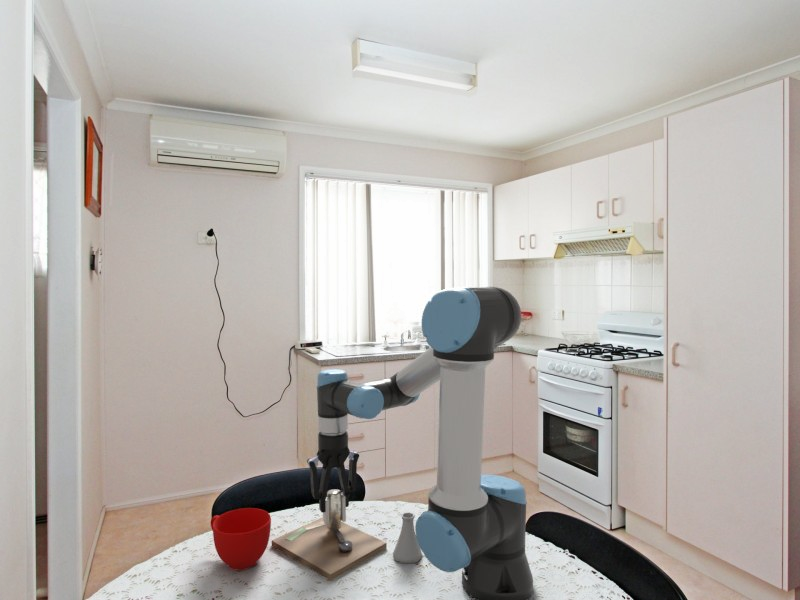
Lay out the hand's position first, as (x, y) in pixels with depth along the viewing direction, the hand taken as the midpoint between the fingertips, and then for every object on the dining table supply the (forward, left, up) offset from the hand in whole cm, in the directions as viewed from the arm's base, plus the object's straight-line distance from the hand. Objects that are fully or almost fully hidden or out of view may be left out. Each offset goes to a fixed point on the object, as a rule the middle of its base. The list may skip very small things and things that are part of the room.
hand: (334, 521), depth 133 cm
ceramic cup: (+9, +22, -4) cm, 25 cm away
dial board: (-3, +4, -4) cm, 7 cm away
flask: (-20, -6, -4) cm, 21 cm away
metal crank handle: (-3, +1, -2) cm, 4 cm away
